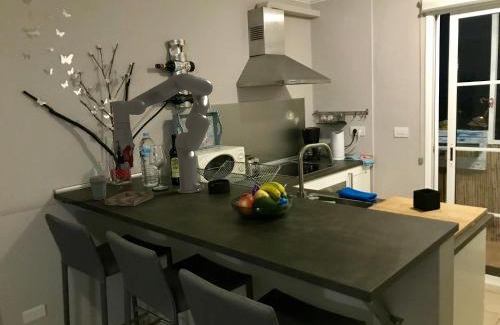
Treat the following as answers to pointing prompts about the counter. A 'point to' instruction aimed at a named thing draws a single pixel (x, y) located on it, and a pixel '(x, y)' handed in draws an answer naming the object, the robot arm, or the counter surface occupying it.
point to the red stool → (127, 158)
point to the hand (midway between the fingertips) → (126, 162)
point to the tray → (129, 198)
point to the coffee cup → (98, 187)
